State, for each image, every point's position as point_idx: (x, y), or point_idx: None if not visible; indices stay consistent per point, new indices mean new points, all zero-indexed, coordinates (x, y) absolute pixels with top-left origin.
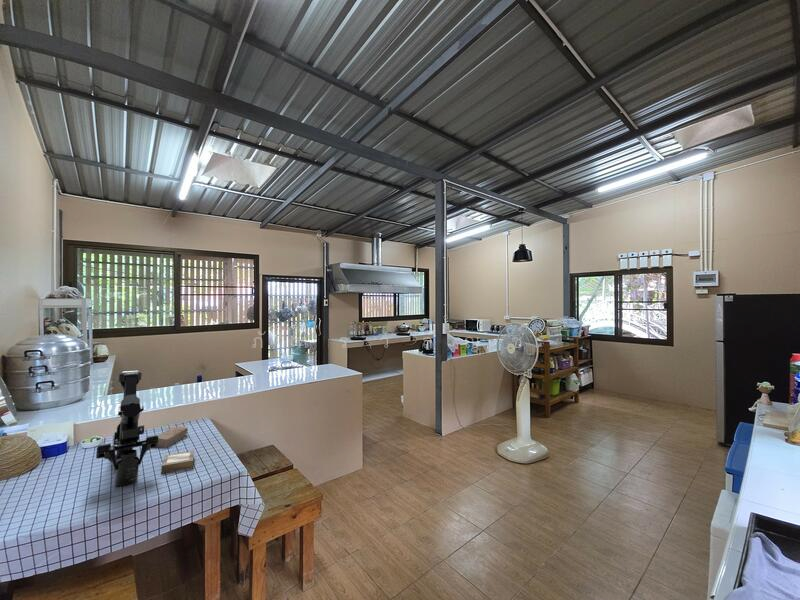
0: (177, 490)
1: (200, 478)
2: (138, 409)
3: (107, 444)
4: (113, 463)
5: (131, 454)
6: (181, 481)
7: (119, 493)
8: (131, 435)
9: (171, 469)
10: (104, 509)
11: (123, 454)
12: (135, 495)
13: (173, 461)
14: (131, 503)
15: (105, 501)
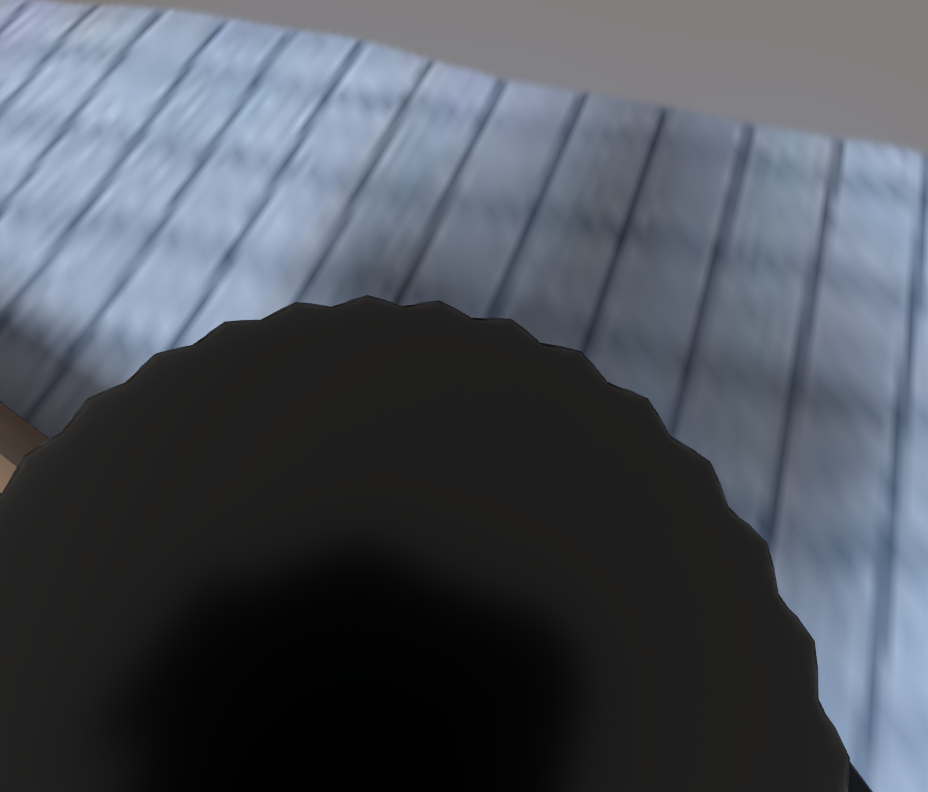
0: (300, 55)
1: (87, 95)
2: None
3: None
4: (850, 772)
5: (384, 317)
6: (183, 159)
7: (605, 378)
8: None
9: (32, 437)
10: (779, 185)
11: (742, 551)
12: (525, 219)
13: None
14: (598, 120)
15: (745, 320)
